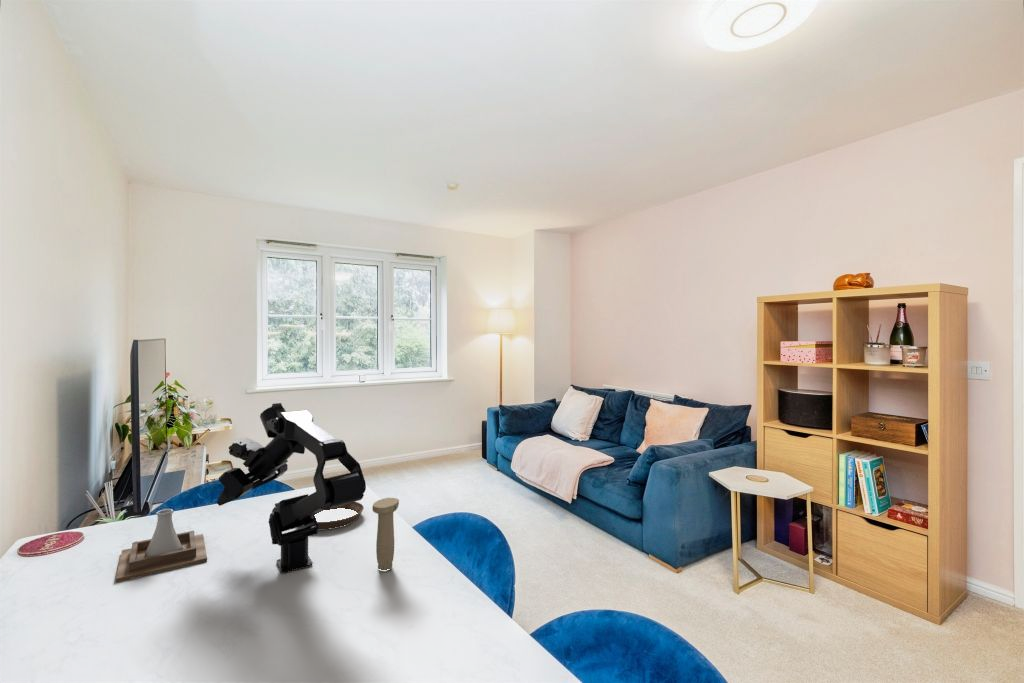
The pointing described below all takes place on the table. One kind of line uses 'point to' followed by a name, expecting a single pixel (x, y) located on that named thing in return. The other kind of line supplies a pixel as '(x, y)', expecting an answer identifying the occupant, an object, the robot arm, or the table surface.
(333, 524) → the ring
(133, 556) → the holder
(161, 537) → the flask
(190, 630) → the table surface
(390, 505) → the handle
